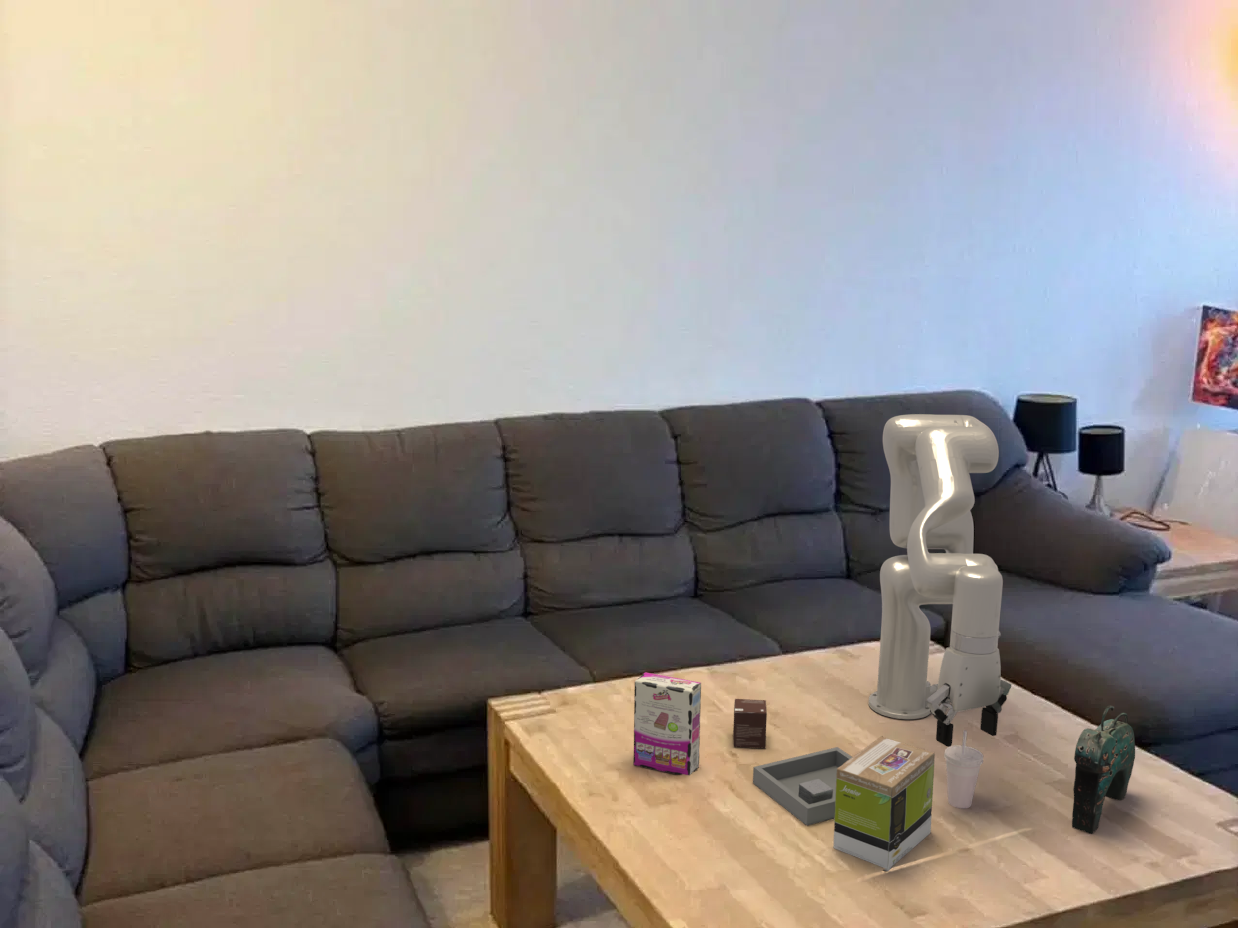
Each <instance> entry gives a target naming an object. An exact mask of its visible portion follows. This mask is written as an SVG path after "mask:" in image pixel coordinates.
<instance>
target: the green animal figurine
mask: <svg viewBox="0 0 1238 928" xmlns="http://www.w3.org/2000/svg"><path fill="white" fill-rule="evenodd" d="M1109 710H1111V712H1113V711H1114V710H1115V706H1113V705H1108V706H1106V707H1105V709H1104V710H1103V713H1102V714H1101V715H1102V716H1101V721H1100V722H1101V723H1100V724H1099V725H1098V726H1097V727H1096V729H1094V728H1089V727H1087V728H1085V729H1082V732H1081V733H1080V735H1079V736H1078V739H1077V741H1076V742H1077V743H1076V745H1075V750H1074V757H1073V760H1074V762H1075V769H1074V770H1075V773H1074V782H1073V789H1072V790H1073V805H1072V813H1071V815H1072V816H1071V818H1072V819H1071V827H1072V828H1074V829H1076V830H1078V831H1081V832H1084V833H1087V834H1090V835H1093V834H1094V833H1095V832H1096V831H1097V830H1098V829H1099V826H1100V822H1101V817H1102V812H1103V807H1104V802H1105V799H1106V798H1111V799H1113V800H1116V801H1122V800H1124V799H1125V798H1126V796H1127V792H1128V787H1129V783H1130V779H1131V777H1132V774H1133V768H1134V765H1135V764H1134V763H1135V760H1136V759H1135V758H1136V741H1135V733H1134V730H1133V727H1132V726H1131V725H1130V724H1128V717H1129V716H1128V714H1127V713H1126V712H1121V713H1120V714H1118V715H1117V716H1116V717H1115V718H1114V719H1113V718H1111V719H1107V720H1105V717H1106V716H1107V713H1108V711H1109ZM1121 717H1124V721H1119V719H1120V718H1121Z"/></svg>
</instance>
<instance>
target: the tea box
mask: <svg viewBox="0 0 1238 928" xmlns="http://www.w3.org/2000/svg"><path fill="white" fill-rule="evenodd" d="M935 757H936V754H935V752H933V751H929V750H928V749H927V750H926V749H924V748H919V747H916V746H913V745H909V744H906V743H904V742H900V741H897V740H893V739H889V738H886V737H884V736H883V735H882V736H880V737H878V738H877V739H876V740H874V741H872V742H871V743H870V744H869V745H866V747H865V748H863V749H862V750H860V751H859V752H858V753H856V754H855V755H854V756H852V758H851V759H849V760H848V761H847V762H845V763H844V764H843V765H842V766H840V767H838V768H837V774H836V796H835V818H833V819H834V820H833V821H834V822H833V823H834V825H833V826H834V827H833V847H832V848H833V849H835V850H837V851H841V852H843V853H845V854H848V855H850V856H853V857H856V858H859V859H860V860H863V861H865V862H867V863H871V864H874V865H875V866H878V867H880V868H883V871H885V872H889V871H891V869H892V868H893V866H894V865H896V863H898V861H900V860H901V859H903V858H904V857H905V856H906V855H907V854H908V853H909V852H910V851H912V850H913V848H915V847H916V846H917V845H919V844H920V843H921V842H922V841H923V840H924V839H926V837H928V836H929V835H930V834H931V831H932V810H933V794H934V775H935Z"/></svg>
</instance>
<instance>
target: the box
mask: <svg viewBox="0 0 1238 928" xmlns="http://www.w3.org/2000/svg"><path fill="white" fill-rule="evenodd" d="M733 706H734V707H733V728H732V729H733V731H732V734H733V735H732V736H733V748H749V749H763V750H764V749H766V748H767V747H766V743H767V740H766V739H767V721H768V720H767V719H768V718H767V715H768V713H767V710H768V709H767V700H766V699H745V698H734V703H733Z"/></svg>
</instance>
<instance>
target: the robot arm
mask: <svg viewBox="0 0 1238 928" xmlns="http://www.w3.org/2000/svg"><path fill="white" fill-rule="evenodd" d="M882 447H883V453H884V456H885V460H886V464H887V466H888V469H889V474H890V496H889V535H890V539H891V541H892V543H893V544H894V545H895V546H896V547H899V548H903V549H906V552H907V553H906V554H900V555H895V556H892V557H889V558H887V559H886V560H884V561H883V563H882V565H881V567H880V570H879V571H880V572H879V582H880V592H881V624H880V625H881V628H880V641H879V656H878V657H879V659H878V671H877V672H878V673H877V686H876V688H877V689H876V691H874V692H872V693H871V694H870V695H869V697H868V706H869V707H870V708H871V710H873V712H876V713H877V714H879V715H882V716H884V717H887V718H891V719H897V720H918V719H923V718H925V717H928V716H929V715H930V714H931V715H932V716H933V717H934V719H936V734H935V739H936V740H935V741H936V742H938V743H940V744H941V745H943V746H946V748H948V747H950V746H953V737H954V735H953V734H954V724H953V723H952V722H953V719H954V718H955V716H956V715H957V714H958V712H959V713H960V712H961V713H962V712H966V711H970V710H975V709H979V708H981V716H980V717H981V718H980V727H979V728H980V731H982V732H984V733H987V734H988V735H990V736H991V737H995V736H997V732H998V721H999V720H998V719H999V714H1000V713H1001V712H1002V710H1003V708H1002V707H1003V705H1004V704H1005V702H1006V701H1007V698H1008V695H1009V692H1010V690H1011V689H1012V684H1011V683H1010V682H1008V681H1006V680H1003V679H1001V678H1002V677H1001V676H1002V675H1001V674H1002V673H1001V670H1002V669H1001V668H1002V667H1001V665H1002V664H1001V656H1000V649H999V648H998V645H999V644H998V643H999V638H1000V637H1002V635H1001V631H1000V618H1001V609H1002V607H1001V606H1002V597H1003V583H1004V580H1003V575H1002V574H1001V572H1000V571H999V568H998V565H997V564H996V563H995V561H994V559H993V558H992V557H991V556H989V555H987V554H983V553H974V540H975V539H974V538H975V537H974V532H975V531H974V530H975V528H974V527H975V526H974V519H973V516H972V512H971V510H972V508H973V507H974V506H975V505H974V504H975V502H976V501H975V500H976V499H975V494H974V490H973V489H974V488H973V485H972V480H971V475H970V474H986V473H991V472H993V470H994V469H996V467H997V465H998V462H999V455H1000V453H999V449H1000V448H999V444H998V441H997V438H996V436H995V434H994V432H993V431H992V430H991V428H990V427H989V426H988V425H986V424H985V423H984V422H982V421H981V420H979V419H978V418H976V417H975V416H972V415H966V414H929V413H928V414H927V413H926V414H922V413H919V414H918V413H917V414H915V413H912V414H910V413H909V414H901V415H895V416H893V417H891V418H889V419H888V420H887V421H886V423H885V424H884V426H883V432H882ZM929 550H944V551H945V553H943V552H938V553H937V552H936V553H935V552H929ZM922 605H952V612H951V613H952V614H951V623H950V624H951V626H950V636H949V637H950V639H949V641H950V642H949V646H948V647H946V648H945V651H944V652H943V657H942V659H941V665H940V669H939V674H938V675H939V676H938V681H937V683H935V684H932V685H931V682H930V681H929V680H927V679H928V669H929V657H930V655H929V654H930V644H931V643H930V641H931V630H932V629H931V622H930V620H929V619H928V617H927V616H926V614H925V613H924V612H923V611H922V610H921V608H920V606H922ZM947 710H948V712H947ZM946 712H947V714H946Z"/></svg>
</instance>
